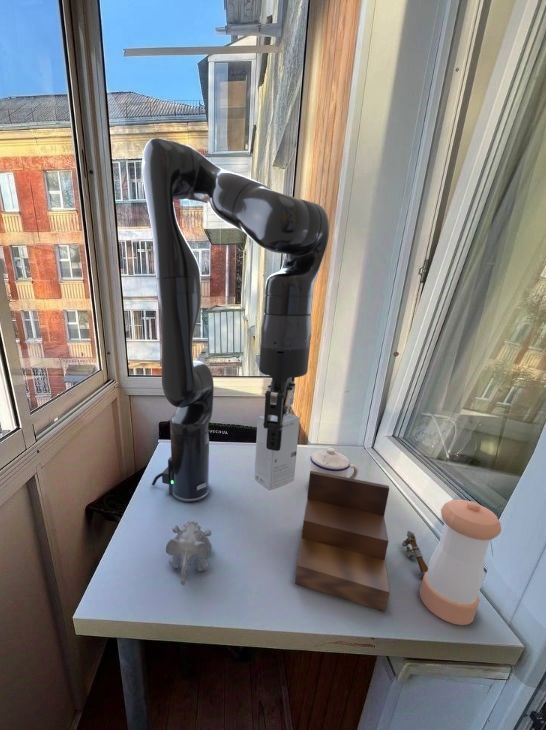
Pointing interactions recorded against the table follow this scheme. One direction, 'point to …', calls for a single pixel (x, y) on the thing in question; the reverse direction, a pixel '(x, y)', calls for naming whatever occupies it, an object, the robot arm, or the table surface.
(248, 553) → the table surface
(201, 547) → the elephant statuette
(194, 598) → the table surface
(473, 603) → the salt shaker
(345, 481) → the shelf riser
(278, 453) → the cosmetic box
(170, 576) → the table surface
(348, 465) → the teacup with lid
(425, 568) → the wooden post with brackets
